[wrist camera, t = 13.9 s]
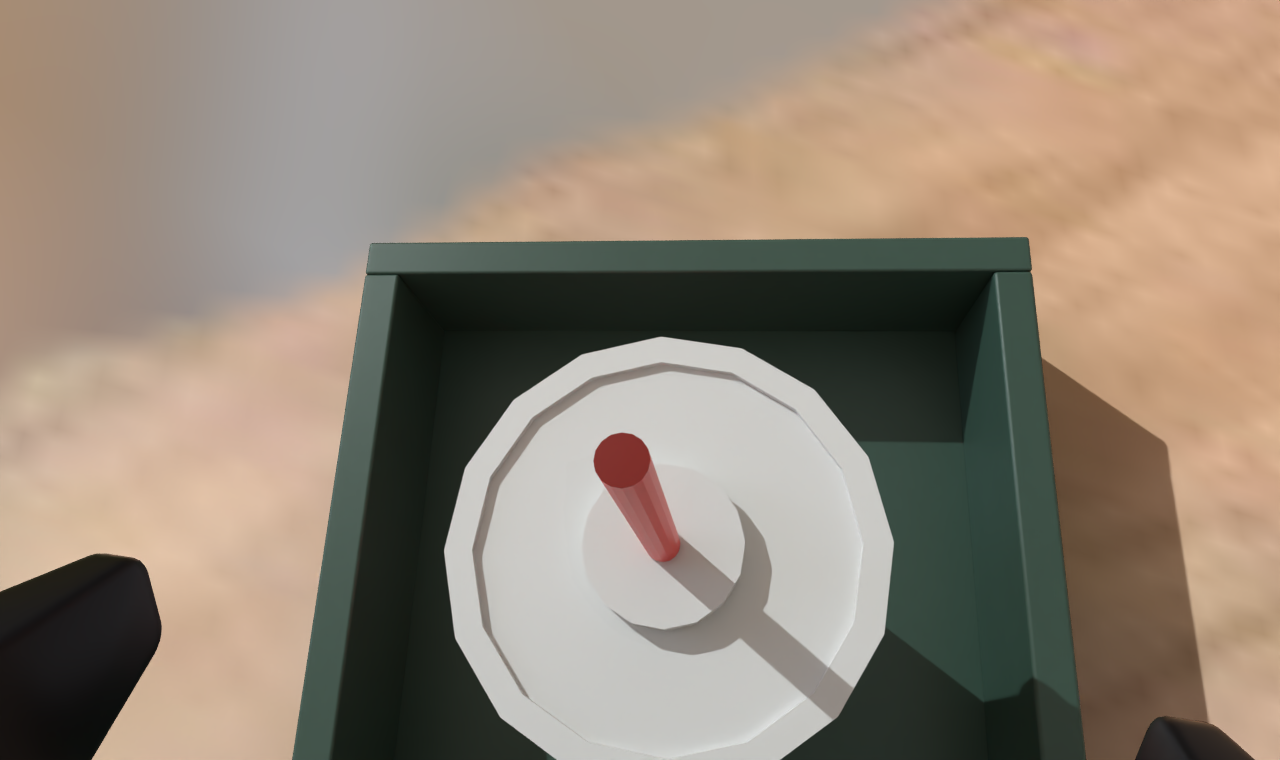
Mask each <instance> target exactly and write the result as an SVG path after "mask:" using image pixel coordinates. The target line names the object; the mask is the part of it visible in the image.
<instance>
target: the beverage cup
mask: <svg viewBox="0 0 1280 760" xmlns="http://www.w3.org/2000/svg"><path fill="white" fill-rule="evenodd" d="M893 547H894V541H893V537H892V534H891V531H890V527H889V524H888V521H887V517H886V514H885V511H884V507H883V504H882V501H881V497H880V494H879V491H878V487H877V484H876V481H875V477H874V474H873V471H872V467H871V464H870V461H869V457H868V456H867V454H866V453H865V452H864V451H863V450H862V448H861V447H860V446H859V445H858V443H857V442H856V441H855V440H854V438H853V437H852V436H851V435H850V433H849V432H848V431H847V430H846V428H845V427H844V426H843V425H842V423H841V422H840V421H839V420H838V418H837V417H836V416H835V415H834V413H833V412H832V411H831V410H830V408H829V407H828V406H827V405H826V403H825V402H824V401H823V400H822V398H821V397H820V396H819V395H818V393H817V392H816V391H815V390H814V389H812V388H811V387H809V386H807V385H805V384H804V383H802V382H800V381H798V380H797V379H795V378H793V377H791V376H790V375H788V374H786V373H784V372H782V371H781V370H779V369H777V368H775V367H774V366H772V365H770V364H768V363H767V362H765V361H763V360H761V359H760V358H758V357H756V356H754V355H753V354H751V353H749V352H747V351H745V350H744V349H742V348H735V347H728V346H722V345H715V344H708V343H701V342H694V341H687V340H681V339H674V338H667V337H657V338H653V339H648V340H644V341H640V342H635V343H631V344H626V345H622V346H617V347H613V348H609V349H604V350H600V351H595V352H591V353H586V354H582V355H580V356H579V357H577V358H576V359H574V360H573V361H571V362H570V363H568V364H567V365H565V366H564V367H562V368H561V369H559V370H558V371H556V372H555V373H553V374H552V375H550V376H549V377H547V378H546V379H544V380H543V381H541V382H540V383H538V384H537V385H535V386H534V387H532V388H531V389H529V390H528V391H526V392H525V393H523V394H522V395H520V396H519V397H517V398H516V399H514V400H513V402H512V403H511V404H510V406H509V407H508V409H507V410H506V411H505V413H504V414H503V416H502V417H501V418H500V420H499V421H498V423H497V424H496V425H495V427H494V428H493V430H492V431H491V432H490V434H489V435H488V437H487V438H486V439H485V441H484V442H483V444H482V445H481V446H480V448H479V449H478V451H477V452H476V453H475V455H474V456H473V458H472V459H471V460H470V462H469V463H468V465H467V466H466V467H465V471H464V475H463V478H462V482H461V486H460V490H459V494H458V498H457V502H456V506H455V510H454V513H453V517H452V521H451V525H450V529H449V533H448V537H447V541H446V545H445V548H444V555H445V563H446V571H447V579H448V587H449V594H450V602H451V610H452V618H453V626H454V634H455V639H456V641H457V643H458V644H459V646H460V648H461V650H462V651H463V653H464V655H465V657H466V658H467V660H468V662H469V664H470V665H471V667H472V669H473V671H474V672H475V674H476V676H477V678H478V679H479V681H480V683H481V685H482V686H483V688H484V690H485V692H486V693H487V695H488V697H489V699H490V700H491V702H492V704H493V706H494V707H495V709H496V711H497V713H498V714H499V716H500V718H502V719H503V720H504V721H506V722H507V723H508V724H510V725H511V726H512V727H514V728H515V729H516V730H518V731H519V732H520V733H522V734H523V735H524V736H526V737H527V738H528V739H530V740H531V741H532V742H534V743H535V744H536V745H538V746H539V747H540V748H542V749H543V750H544V751H546V752H547V753H548V754H550V755H551V756H552V757H554V758H555V759H556V760H780V759H782V758H783V757H785V756H786V755H787V754H789V753H790V752H791V751H793V750H794V749H795V748H797V747H798V746H799V745H801V744H802V743H803V742H805V741H806V740H807V739H809V738H810V737H811V736H813V735H814V734H815V733H817V732H818V731H820V730H821V729H822V728H824V727H825V726H826V725H828V724H829V723H830V722H832V721H833V720H834V719H836V718H837V717H838V716H839V714H840V712H841V711H842V709H843V707H844V705H845V703H846V702H847V700H848V698H849V696H850V694H851V693H852V691H853V689H854V687H855V686H856V684H857V682H858V680H859V678H860V677H861V675H862V673H863V671H864V670H865V668H866V666H867V664H868V662H869V661H870V659H871V657H872V655H873V654H874V652H875V650H876V648H877V646H878V645H879V643H880V641H881V639H882V638H883V636H884V633H885V623H886V614H887V604H888V595H889V585H890V575H891V566H892V556H893Z"/></svg>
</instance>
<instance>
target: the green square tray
mask: <svg viewBox="0 0 1280 760" xmlns="http://www.w3.org/2000/svg"><path fill="white" fill-rule="evenodd" d="M1031 270H1032V265H1031V256H1030V247H1029V239H1028V238H1027V237H1005V238H896V239H787V240H678V241H569V242H460V243H372V244H371V245H370V249H369V256H368V263H367V269H366V274H367V275H366V277H365V283H364V290H363V296H362V303H361V309H360V316H359V323H358V329H357V336H356V342H355V349H354V356H353V362H352V369H351V375H350V382H349V389H348V395H347V402H346V408H345V415H344V422H343V428H342V435H341V441H340V448H339V455H338V461H337V468H336V474H335V481H334V488H333V494H332V501H331V507H330V514H329V521H328V527H327V534H326V540H325V547H324V554H323V560H322V567H321V573H320V580H319V587H318V593H317V600H316V606H315V613H314V620H313V626H312V633H311V639H310V646H309V653H308V659H307V666H306V672H305V679H304V686H303V692H302V699H301V705H300V712H299V719H298V725H297V732H296V738H295V745H294V752H293V758H292V760H556V759H555V758H554V757H552V756H551V755H550V754H548V753H547V752H546V751H544V750H543V749H542V748H540V747H539V746H538V745H536V744H535V743H534V742H532V741H531V740H530V739H528V738H527V737H526V736H524V735H523V734H522V733H520V732H519V731H518V730H516V729H515V728H514V727H512V726H511V725H510V724H508V723H507V722H506V721H504V720H503V719H502V718H500V716H499V714H498V713H497V711H496V709H495V707H494V706H493V704H492V702H491V700H490V699H489V697H488V695H487V693H486V692H485V690H484V688H483V686H482V685H481V683H480V681H479V679H478V678H477V676H476V674H475V672H474V671H473V669H472V667H471V665H470V664H469V662H468V660H467V658H466V657H465V655H464V653H463V651H462V650H461V648H460V646H459V644H458V643H457V641H456V639H455V634H454V626H453V618H452V610H451V602H450V594H449V587H448V579H447V571H446V563H445V555H444V548H445V545H446V541H447V537H448V533H449V529H450V525H451V521H452V517H453V513H454V510H455V506H456V502H457V498H458V494H459V490H460V486H461V482H462V478H463V475H464V471H465V467H466V466H467V465H468V463H469V462H470V460H471V459H472V458H473V456H474V455H475V453H476V452H477V451H478V449H479V448H480V446H481V445H482V444H483V442H484V441H485V439H486V438H487V437H488V435H489V434H490V432H491V431H492V430H493V428H494V427H495V425H496V424H497V423H498V421H499V420H500V418H501V417H502V416H503V414H504V413H505V411H506V410H507V409H508V407H509V406H510V404H511V403H512V402H513V400H514V399H516V398H517V397H519V396H520V395H522V394H523V393H525V392H526V391H528V390H529V389H531V388H532V387H534V386H535V385H537V384H538V383H540V382H541V381H543V380H544V379H546V378H547V377H549V376H550V375H552V374H553V373H555V372H556V371H558V370H559V369H561V368H562V367H564V366H565V365H567V364H568V363H570V362H571V361H573V360H574V359H576V358H577V357H579V356H580V355H582V354H586V353H591V352H595V351H600V350H604V349H609V348H613V347H617V346H622V345H626V344H631V343H635V342H640V341H644V340H648V339H653V338H657V337H667V338H674V339H681V340H687V341H694V342H701V343H708V344H715V345H722V346H728V347H735V348H742V349H744V350H745V351H747V352H749V353H751V354H753V355H754V356H756V357H758V358H760V359H761V360H763V361H765V362H767V363H768V364H770V365H772V366H774V367H775V368H777V369H779V370H781V371H782V372H784V373H786V374H788V375H790V376H791V377H793V378H795V379H797V380H798V381H800V382H802V383H804V384H805V385H807V386H809V387H811V388H812V389H814V390H815V391H816V392H817V393H818V395H819V396H820V397H821V398H822V400H823V401H824V402H825V403H826V405H827V406H828V407H829V408H830V410H831V411H832V412H833V413H834V415H835V416H836V417H837V418H838V420H839V421H840V422H841V423H842V425H843V426H844V427H845V428H846V430H847V431H848V432H849V433H850V435H851V436H852V437H853V438H854V440H855V441H856V442H857V443H858V445H859V446H860V447H861V448H862V450H863V451H864V452H865V453H866V454H867V456H868V457H869V461H870V464H871V467H872V471H873V474H874V477H875V481H876V484H877V487H878V491H879V494H880V497H881V501H882V504H883V507H884V511H885V514H886V517H887V521H888V524H889V527H890V531H891V534H892V537H893V541H894V547H893V556H892V566H891V575H890V585H889V595H888V604H887V614H886V623H885V633H884V636H883V638H882V639H881V641H880V643H879V645H878V646H877V648H876V650H875V652H874V654H873V655H872V657H871V659H870V661H869V662H868V664H867V666H866V668H865V670H864V671H863V673H862V675H861V677H860V678H859V680H858V682H857V684H856V686H855V687H854V689H853V691H852V693H851V694H850V696H849V698H848V700H847V702H846V703H845V705H844V707H843V709H842V711H841V712H840V714H839V716H838V717H837V718H836V719H834V720H833V721H832V722H830V723H829V724H828V725H826V726H825V727H824V728H822V729H821V730H820V731H818V732H817V733H815V734H814V735H813V736H811V737H810V738H809V739H807V740H806V741H805V742H803V743H802V744H801V745H799V746H798V747H797V748H795V749H794V750H793V751H791V752H790V753H789V754H787V755H786V756H785V757H783V758H782V759H780V760H1086V754H1085V745H1084V736H1083V727H1082V718H1081V709H1080V700H1079V691H1078V682H1077V673H1076V664H1075V655H1074V646H1073V637H1072V628H1071V619H1070V610H1069V601H1068V592H1067V583H1066V574H1065V565H1064V556H1063V547H1062V538H1061V529H1060V520H1059V511H1058V502H1057V493H1056V484H1055V475H1054V467H1053V458H1052V449H1051V440H1050V431H1049V422H1048V413H1047V404H1046V395H1045V386H1044V377H1043V368H1042V359H1041V350H1040V341H1039V332H1038V323H1037V314H1036V305H1035V296H1034V287H1033V278H1032V274H1031V273H1030V272H1031Z"/></svg>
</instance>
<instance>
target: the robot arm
mask: <svg viewBox="0 0 1280 760" xmlns="http://www.w3.org/2000/svg"><path fill="white" fill-rule="evenodd" d="M161 628H162V625H161V620H160V616H159V612H158V609H157V605H156V601H155V597H154V593H153V590H152V586H151V582H150V578H149V575H148V571H147V569H146V567H145V566H144V565H143V563H142V562H141V561H140V560H137V559H135V558H131V557H125V556H118V555H112V554H93V555H90V556H87V557H85V558H82V559H80V560H77V561H75V562H72V563H70V564H67V565H65V566H63V567H60V568H58V569H55V570H53V571H50V572H48V573H45V574H43V575H40V576H38V577H35V578H33V579H31V580H28V581H26V582H23V583H21V584H18V585H16V586H13V587H11V588H8V589H6V590H3V591H1V592H0V760H92V758H93V756H94V755H95V753H96V751H97V750H98V748H99V746H100V745H101V743H102V741H103V739H104V738H105V736H106V734H107V733H108V731H109V729H110V728H111V726H112V724H113V723H114V721H115V719H116V718H117V716H118V714H119V713H120V711H121V709H122V708H123V706H124V704H125V702H126V701H127V699H128V697H129V696H130V694H131V692H132V691H133V689H134V687H135V686H136V684H137V682H138V681H139V679H140V677H141V676H142V674H143V672H144V671H145V669H146V667H147V665H148V664H149V662H150V660H151V659H152V657H153V655H154V654H155V652H156V650H157V647H158V644H159V642H160V637H161ZM1135 760H1255V759H1253V758H1252V757H1251V756H1250V755H1249V754H1248V753H1247V752H1246V751H1244V750H1243V749H1242V748H1241V747H1240V746H1239V745H1238V744H1237V743H1235V742H1234V741H1233V740H1232V739H1231V738H1230V737H1229V736H1228V735H1226V734H1225V733H1224V732H1223V731H1221V730H1220V729H1219V728H1218V727H1216V726H1214V725H1212V724H1209V723H1206V722H1201V721H1194V720H1188V719H1181V718H1175V717H1168V716H1164V717H1158V718H1156V719H1155V720H1154V721H1153V722H1152V723H1151V724H1150V726H1149V728H1148V730H1147V732H1146V735H1145V737H1144V739H1143V742H1142V744H1141V747H1140V749H1139V752H1138V754H1137V756H1136V759H1135Z"/></svg>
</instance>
